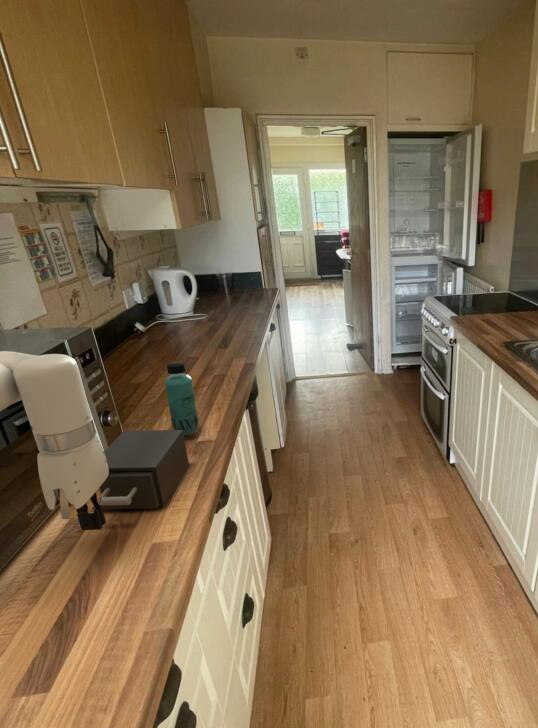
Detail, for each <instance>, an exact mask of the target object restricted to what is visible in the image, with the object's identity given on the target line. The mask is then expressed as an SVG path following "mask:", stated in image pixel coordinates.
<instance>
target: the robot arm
mask: <svg viewBox="0 0 538 728" xmlns="http://www.w3.org/2000/svg"><path fill="white" fill-rule="evenodd" d="M79 368H80V367H79V365H78V363H77V361H76V360H75V359H74V358H73V357H72V356H70V355H67V354H62V353H49V354H48V353H46V354H41V355H37V354H28V353H22V352H18V351H11V350H9V351H8V350H1V351H0V412H2V411H3V410H5V409H6V408H9V406H11V405H14V404H16V403H18V402H20V401H22V402H21V403H22V405H23V407H24V410H25V413H26V416H27V419H28V422H29V425H30V429H31V432H32V435H33V437H34V441H35V443H36V446H37V449H38V451H39V452H38V453H37V456H36V457H37V471H38V476H39V481H40V486H41V491H42V494H43V497H44V501H45V504H46V506H47V508H48V509H49V510H52V511H53V510H56V509H57V508H58V507H60V516H61V519H62V520H72V519H73V518H75V517H76V516H77V520H78V522H79V525H80V526H79V527H80V530H82V531H100V530H102V529H103V527H104V526H105V525H106V523H107V520H106V517H105V514H104V510H102V506H101V505H99V504H101V502H102V496H101V486H102V484H103V482H104V481H105V480H106V478H107V477H108V474H109V469H108V464H107V460H106V457H105V454H104V451H105V450H104V448H103V446H102V443H101V441H100V438H99V436H98V434H97V431H96V428H95V427H96V426H95V423H94V420H93V417H92V412H91V408H90V406H89V402H88V398H87V397H88V396H87V394H86V391H85V387H84V383H83V379H82V376H81V371H80V369H79Z"/></svg>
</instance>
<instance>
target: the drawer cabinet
mask: <svg viewBox="0 0 538 728" xmlns="http://www.w3.org/2000/svg"><path fill="white" fill-rule="evenodd" d="M103 451H104V454H105V457H106V460H107V464H108V469H109V472H114V471H152V472H153V476H154V480H155V485H156V489H157V493H158V498H159V502H160V505H159V507H158V508H165V507H166V505H167V503H168V502H169V501H170V498H171V497H172V495H173V493H174V492H175V491H176V488H177V487H178V485H179V484H180V482H181V480H182V479H183V477H184V475H185V474H186V472H187V471H188V469H189V467H190V462H189V458H188V451H187V445H186V441H185V435H183V430H173V429H165V430H164V429H160V430H159V429H156V430H155V429H154V430H153V429H151V430H150V429H149V430H148V429H145V430H123V431H122V432H121V433H120V434H119V435H118V436H117V437H116V439H115V440H113V442H111V443H110V444H109V446H108V447H106V449H105V450H103Z"/></svg>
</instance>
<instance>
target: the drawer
mask: <svg viewBox="0 0 538 728" xmlns="http://www.w3.org/2000/svg"><path fill="white" fill-rule="evenodd" d="M121 472H122V471H114V472H109V474H108V477H107V478H106V480H105V481H104V482H103V484H102V486H101V496H102V502H101V504H99V505H101V506H102V510H103V511H105V510H108V511H109V510H141V509H142V510H145V509H159V508H160V507H159V505H160V502H159V498H158V493H157V489H156V485H155V480H154V476H153V472H152V471H148V472H127V473H121Z"/></svg>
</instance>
